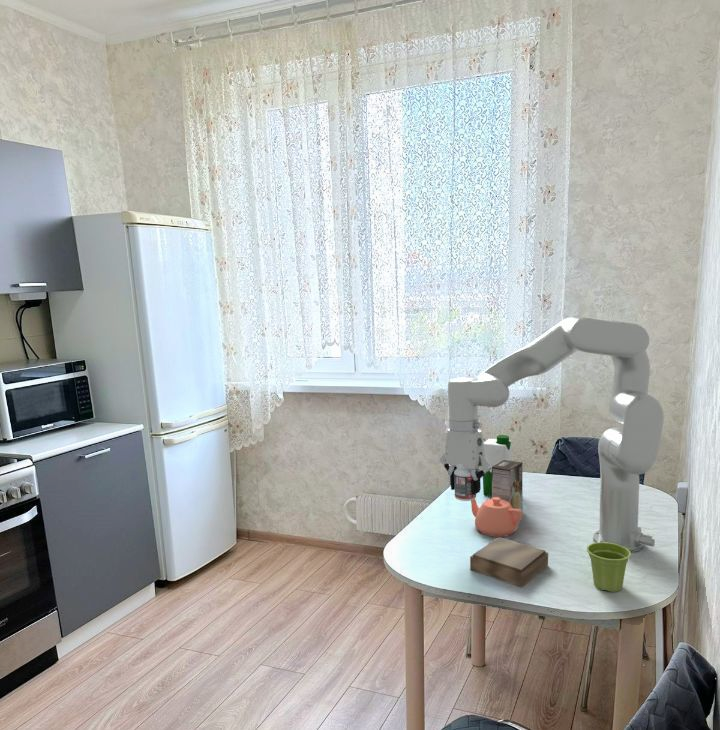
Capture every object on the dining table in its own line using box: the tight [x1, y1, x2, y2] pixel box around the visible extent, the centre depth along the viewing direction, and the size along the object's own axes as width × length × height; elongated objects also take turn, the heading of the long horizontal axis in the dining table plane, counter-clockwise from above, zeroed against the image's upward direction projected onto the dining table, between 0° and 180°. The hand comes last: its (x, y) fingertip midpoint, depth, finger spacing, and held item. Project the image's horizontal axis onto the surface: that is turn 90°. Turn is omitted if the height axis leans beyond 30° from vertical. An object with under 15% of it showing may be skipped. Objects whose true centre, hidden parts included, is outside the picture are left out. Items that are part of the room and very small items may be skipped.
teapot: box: [470, 497, 524, 538], centre depth 170 cm, size 12×18×10 cm
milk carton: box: [482, 434, 512, 497], centre depth 199 cm, size 9×9×20 cm
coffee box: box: [491, 460, 524, 516], centre depth 180 cm, size 9×6×16 cm
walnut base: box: [469, 537, 549, 588], centre depth 147 cm, size 14×14×4 cm
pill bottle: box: [454, 464, 477, 502], centre depth 157 cm, size 6×6×10 cm
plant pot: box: [586, 542, 632, 593], centre depth 136 cm, size 9×9×9 cm
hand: (465, 490), depth 157 cm, fingers closed on pill bottle, 5 cm apart
